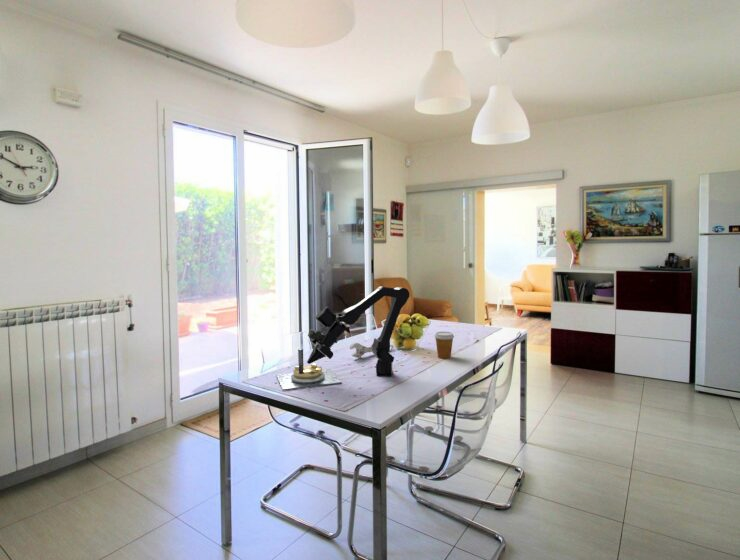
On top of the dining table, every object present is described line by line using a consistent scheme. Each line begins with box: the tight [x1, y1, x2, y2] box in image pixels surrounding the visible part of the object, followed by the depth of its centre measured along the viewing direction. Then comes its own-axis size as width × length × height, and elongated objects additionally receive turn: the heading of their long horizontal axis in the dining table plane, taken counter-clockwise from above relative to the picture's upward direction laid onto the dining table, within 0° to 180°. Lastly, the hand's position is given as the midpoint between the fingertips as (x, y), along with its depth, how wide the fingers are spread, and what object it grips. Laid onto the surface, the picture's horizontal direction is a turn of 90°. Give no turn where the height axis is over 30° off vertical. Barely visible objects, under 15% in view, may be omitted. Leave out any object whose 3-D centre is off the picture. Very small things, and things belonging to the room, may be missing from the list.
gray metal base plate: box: [276, 368, 343, 391], centre depth 182 cm, size 24×20×2 cm
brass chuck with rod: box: [292, 348, 323, 379], centre depth 181 cm, size 12×12×12 cm
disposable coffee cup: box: [434, 331, 455, 359], centre depth 214 cm, size 10×10×12 cm
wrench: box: [349, 342, 395, 359], centre depth 221 cm, size 8×2×30 cm
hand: (307, 363), depth 177 cm, fingers closed
